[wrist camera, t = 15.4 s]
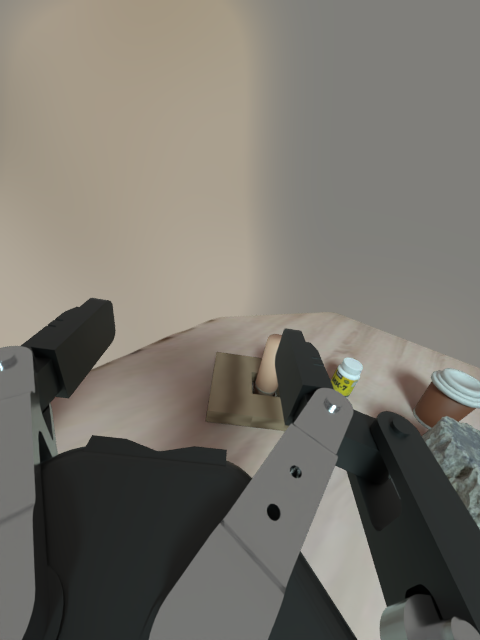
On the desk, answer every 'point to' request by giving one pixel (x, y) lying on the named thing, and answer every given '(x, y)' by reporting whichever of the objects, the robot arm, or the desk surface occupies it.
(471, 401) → the coffee cup
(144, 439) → the desk surface
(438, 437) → the petrified wood
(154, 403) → the desk surface
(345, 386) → the supplement bottle
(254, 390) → the dowel
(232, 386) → the seat board
